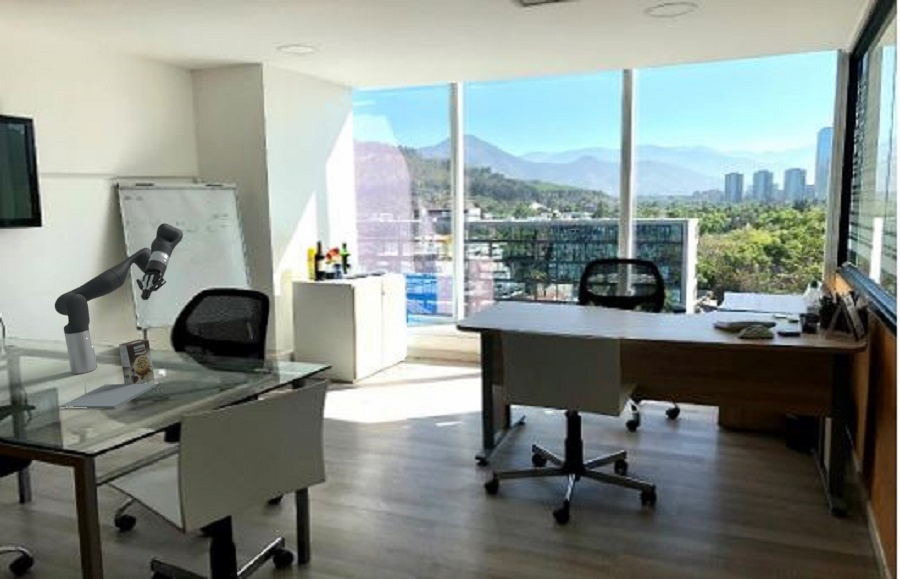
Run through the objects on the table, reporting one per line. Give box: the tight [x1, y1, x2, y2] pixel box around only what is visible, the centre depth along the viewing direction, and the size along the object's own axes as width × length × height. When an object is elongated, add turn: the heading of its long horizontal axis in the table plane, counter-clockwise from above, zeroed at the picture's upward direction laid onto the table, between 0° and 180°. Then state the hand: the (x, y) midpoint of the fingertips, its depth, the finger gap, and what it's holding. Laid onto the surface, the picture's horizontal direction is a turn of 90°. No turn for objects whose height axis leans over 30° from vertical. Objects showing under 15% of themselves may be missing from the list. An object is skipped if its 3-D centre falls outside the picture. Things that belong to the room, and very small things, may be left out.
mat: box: [59, 383, 158, 410], centre depth 250 cm, size 24×22×1 cm
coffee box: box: [118, 338, 155, 384], centre depth 266 cm, size 9×6×16 cm
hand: (144, 299), depth 278 cm, fingers closed
